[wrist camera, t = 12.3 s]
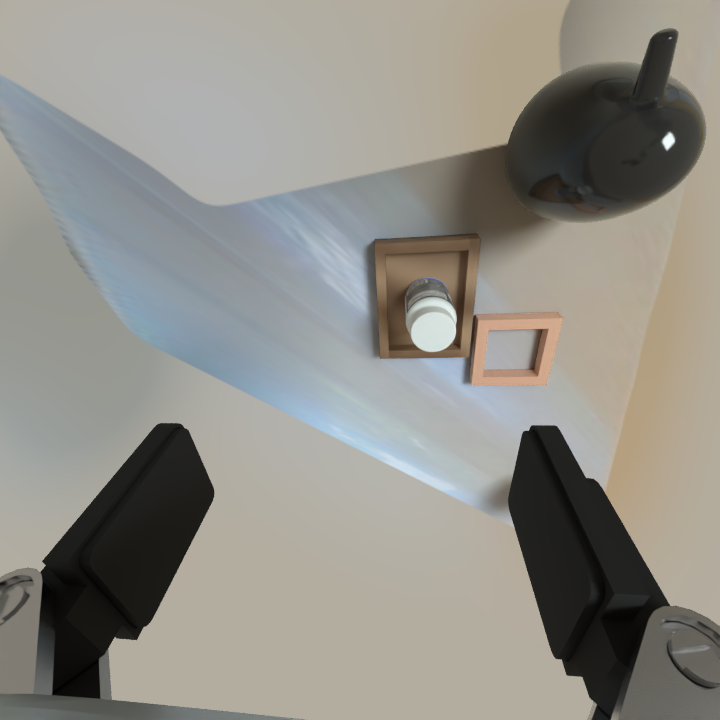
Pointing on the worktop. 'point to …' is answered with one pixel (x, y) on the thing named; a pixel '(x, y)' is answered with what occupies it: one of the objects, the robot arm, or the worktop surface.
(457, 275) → the tray
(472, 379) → the frame
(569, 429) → the worktop surface
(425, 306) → the pill bottle
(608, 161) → the pump dispenser
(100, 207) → the worktop surface
